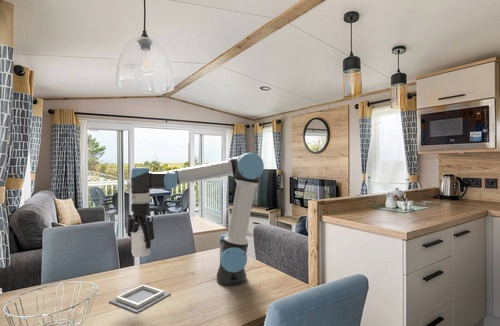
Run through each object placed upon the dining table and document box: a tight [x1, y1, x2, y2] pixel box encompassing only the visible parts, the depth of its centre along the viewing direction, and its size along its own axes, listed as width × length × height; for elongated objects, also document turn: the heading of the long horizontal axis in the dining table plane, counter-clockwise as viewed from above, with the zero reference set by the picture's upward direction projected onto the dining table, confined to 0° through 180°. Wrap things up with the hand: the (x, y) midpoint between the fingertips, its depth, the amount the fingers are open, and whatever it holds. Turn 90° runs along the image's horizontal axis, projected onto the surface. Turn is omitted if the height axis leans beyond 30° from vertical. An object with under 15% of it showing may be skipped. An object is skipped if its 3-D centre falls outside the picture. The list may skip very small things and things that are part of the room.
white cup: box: [130, 229, 148, 258], centre depth 124 cm, size 8×8×10 cm
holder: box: [108, 284, 172, 314], centre depth 123 cm, size 18×18×2 cm
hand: (140, 253), depth 124 cm, fingers closed on white cup, 7 cm apart
